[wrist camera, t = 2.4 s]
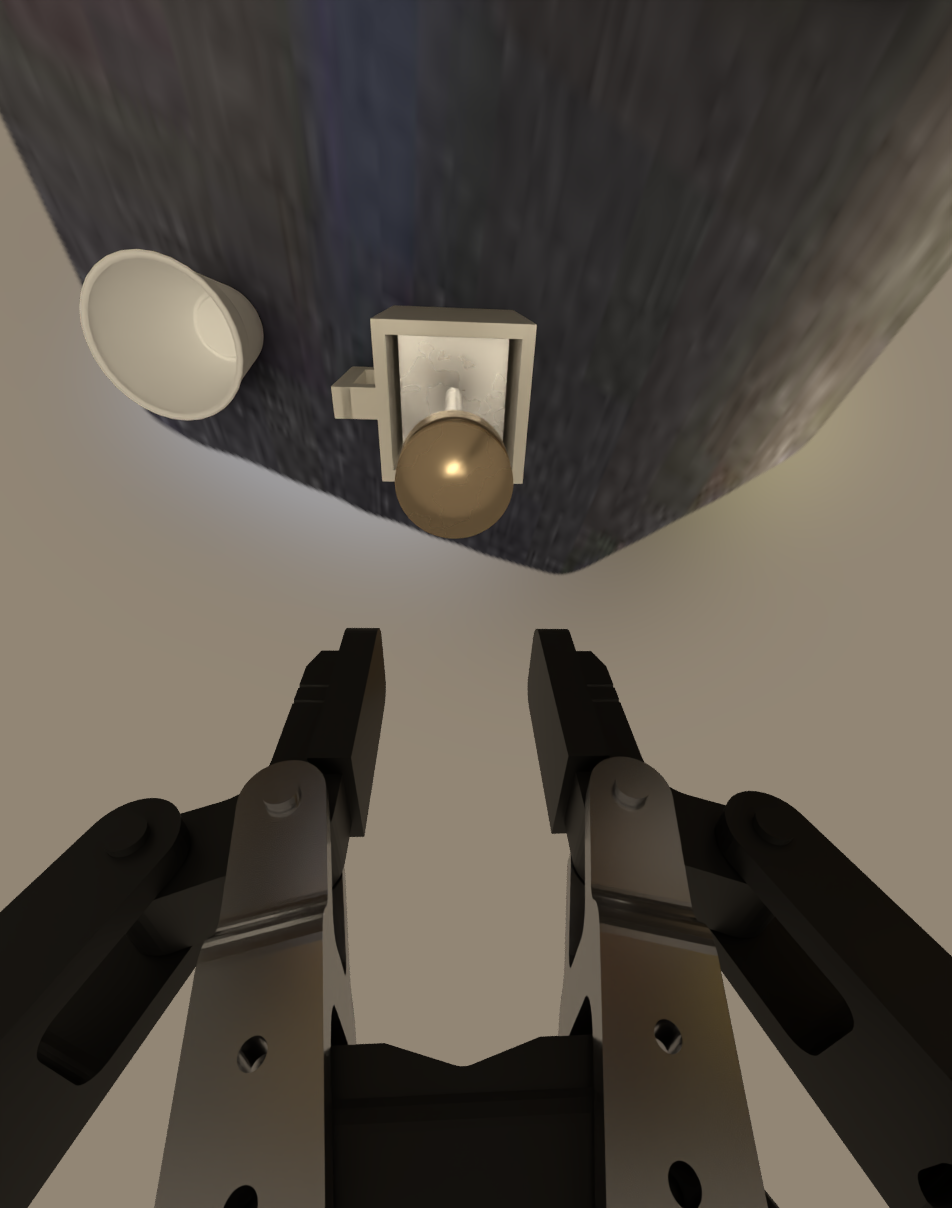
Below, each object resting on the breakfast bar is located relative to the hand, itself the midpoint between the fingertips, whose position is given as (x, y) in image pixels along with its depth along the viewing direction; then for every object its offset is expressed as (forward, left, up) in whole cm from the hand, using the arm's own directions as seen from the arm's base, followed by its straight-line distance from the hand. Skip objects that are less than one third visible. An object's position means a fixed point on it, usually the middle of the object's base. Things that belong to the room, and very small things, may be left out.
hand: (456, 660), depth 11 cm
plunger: (0, 0, -30) cm, 30 cm away
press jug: (+1, 0, -39) cm, 39 cm away
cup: (+19, -3, -39) cm, 44 cm away
